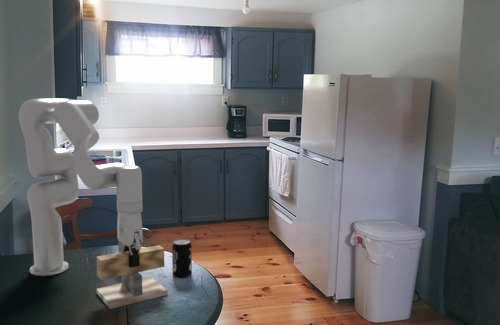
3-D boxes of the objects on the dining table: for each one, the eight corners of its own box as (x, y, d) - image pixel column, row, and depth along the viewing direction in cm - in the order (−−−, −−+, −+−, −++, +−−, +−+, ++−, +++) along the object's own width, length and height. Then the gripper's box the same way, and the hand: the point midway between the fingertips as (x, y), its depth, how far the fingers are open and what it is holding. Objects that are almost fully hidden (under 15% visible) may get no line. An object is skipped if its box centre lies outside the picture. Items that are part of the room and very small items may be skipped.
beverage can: (188, 279, 156) (187, 245, 154) (169, 277, 157) (169, 243, 155) (194, 272, 162) (194, 239, 161) (176, 270, 164) (176, 237, 162)
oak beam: (159, 262, 150) (158, 245, 149) (164, 266, 147) (164, 248, 146) (97, 275, 139) (96, 256, 138) (101, 280, 136) (100, 260, 135)
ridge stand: (96, 293, 144) (95, 270, 143) (151, 280, 154) (150, 259, 153) (110, 309, 134) (109, 284, 133) (167, 294, 144) (167, 271, 143)
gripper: (108, 202, 145) (110, 258, 147) (127, 213, 131) (129, 275, 134) (131, 199, 149) (133, 254, 151) (152, 210, 135) (153, 270, 138)
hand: (131, 263), depth 142 cm, fingers closed on oak beam, 4 cm apart
